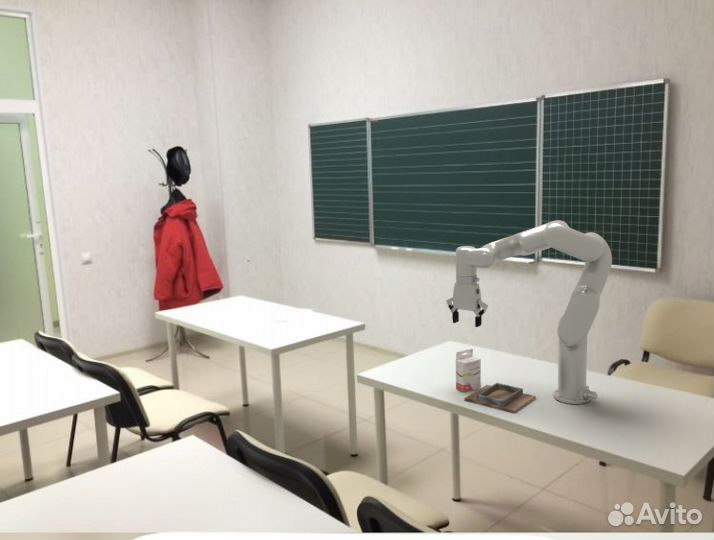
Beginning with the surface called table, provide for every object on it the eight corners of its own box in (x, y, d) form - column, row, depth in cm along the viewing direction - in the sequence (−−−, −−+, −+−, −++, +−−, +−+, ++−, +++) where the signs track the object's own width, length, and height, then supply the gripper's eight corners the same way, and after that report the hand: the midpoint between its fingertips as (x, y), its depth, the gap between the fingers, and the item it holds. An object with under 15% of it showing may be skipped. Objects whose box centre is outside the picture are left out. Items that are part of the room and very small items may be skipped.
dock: (535, 398, 221) (535, 390, 220) (514, 413, 209) (514, 405, 209) (486, 387, 234) (486, 379, 234) (464, 400, 222) (464, 392, 222)
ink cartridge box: (464, 393, 230) (463, 355, 227) (455, 389, 234) (454, 352, 231) (481, 387, 234) (481, 350, 231) (472, 384, 238) (472, 347, 235)
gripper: (492, 280, 223) (492, 325, 226) (452, 275, 235) (452, 318, 238) (481, 283, 218) (481, 330, 221) (441, 279, 229) (441, 323, 232)
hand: (466, 324), depth 229 cm, fingers open, 9 cm apart
